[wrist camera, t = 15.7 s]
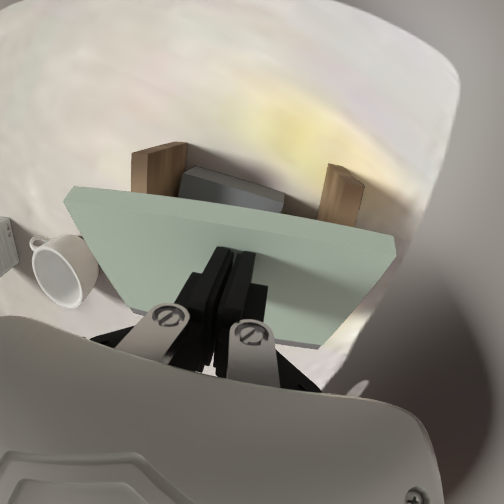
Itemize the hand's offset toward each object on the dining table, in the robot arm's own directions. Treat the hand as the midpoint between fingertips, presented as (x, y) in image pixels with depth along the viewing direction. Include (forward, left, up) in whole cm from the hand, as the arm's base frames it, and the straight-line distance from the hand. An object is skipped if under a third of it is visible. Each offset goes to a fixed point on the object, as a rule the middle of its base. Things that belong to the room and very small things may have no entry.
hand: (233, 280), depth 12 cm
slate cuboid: (-2, +3, -14) cm, 14 cm away
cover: (-2, +1, -3) cm, 4 cm away
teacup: (-9, +21, -14) cm, 27 cm away
